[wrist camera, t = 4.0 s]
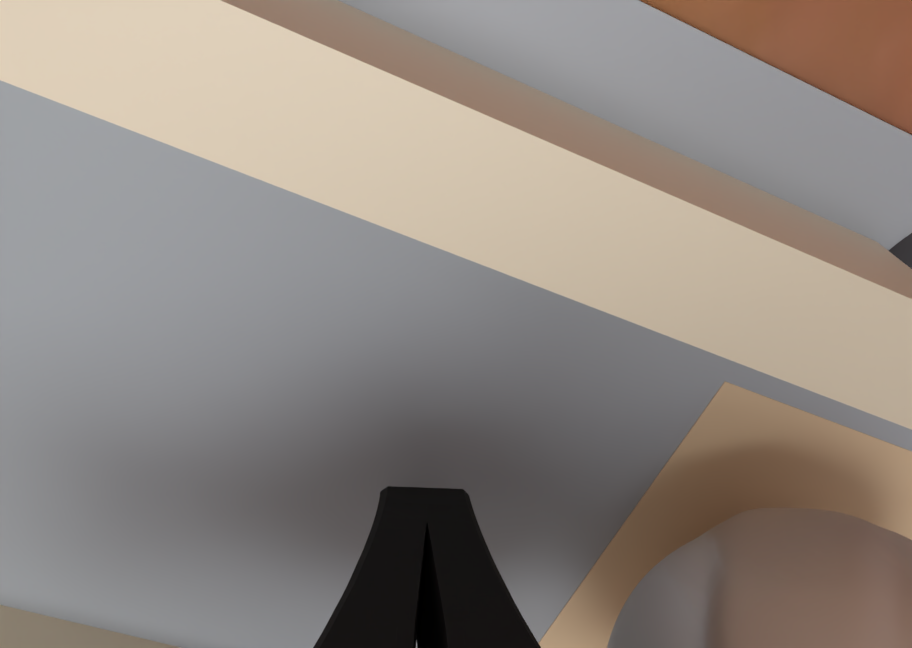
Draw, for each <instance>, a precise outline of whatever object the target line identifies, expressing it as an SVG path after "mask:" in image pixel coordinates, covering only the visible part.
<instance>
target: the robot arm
mask: <svg viewBox="0 0 912 648" xmlns="http://www.w3.org/2000/svg"><path fill="white" fill-rule="evenodd" d="M416 641H417V648H541V647H540V645H539V644H538V642H537V640H536V639H535V637H534V635H533V633H532V632H531V630H530V628H529V627H528V625H527V623H526V622H525V620H524V618H523V616H522V615H521V613H520V611H519V609H518V607H517V606H516V604H515V602H514V600H513V598H512V596H511V594H510V592H509V590H508V588H507V586H506V584H505V582H504V580H503V578H502V576H501V574H500V572H499V570H498V568H497V566H496V564H495V562H494V560H493V558H492V556H491V553H490V551H489V549H488V546H487V544H486V542H485V539H484V537H483V535H482V532H481V530H480V527H479V525H478V522H477V519H476V516H475V513H474V510H473V507H472V504H471V501H470V497H469V494H468V493H467V492H466V491H465V490H464V489H450V488H423V487H396V486H387V487H386V488H385V489H383V490H382V491H380V497H379V503H378V507H377V511H376V515H375V518H374V522H373V525H372V528H371V530H370V533H369V536H368V538H367V541H366V544H365V546H364V549H363V551H362V554H361V556H360V558H359V560H358V562H357V565H356V567H355V569H354V571H353V574H352V576H351V578H350V580H349V582H348V585H347V587H346V589H345V591H344V593H343V595H342V597H341V598H340V600H339V602H338V604H337V606H336V608H335V610H334V611H333V613H332V615H331V617H330V619H329V621H328V623H327V624H326V626H325V628H324V630H323V632H322V634H321V635H320V637H319V639H318V640H317V642H316V644H315V645H314V647H313V648H416Z"/></svg>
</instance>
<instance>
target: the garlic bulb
mask: <svg viewBox="0 0 912 648" xmlns="http://www.w3.org/2000/svg"><path fill="white" fill-rule="evenodd" d="M607 648H912V540H911V539H909V538H907V537H905V536H902V535H900V534H898V533H896V532H893V531H890V530H888V529H885V528H882V527H879V526H877V525H875V524H872V523H870V522H868V521H865V520H863V519H860V518H857V517H855V516H851V515H848V514H844V513H840V512H835V511H829V510H822V509H809V508H758V509H751V510H747V511H744V512H741V513H739V514H737V515H734V516H733V517H731V518H729V519H727V520H726V521H724V522H722V523H720V524H718V525H717V526H715V527H713V528H711V529H710V530H708V531H707V532H705V533H704V534H702V535H701V536H699V537H697V538H696V539H694V540H692V541H690V542H688V543H687V544H685V545H683V546H681V547H680V548H678V549H676V550H675V551H673V552H672V553H670V554H669V555H668V556H666V557H665V558H664V559H662V560H661V561H660V562H659V563H658V564H657V565H655V566H654V567H653V568H652V569H651V570H650V571H649V572H648V573H647V574H646V575H645V576H644V577H643V579H642V580H641V581H640V582H639V583H638V585H637V586H636V587H635V589H634V590H633V591H632V593H631V594H630V596H629V597H628V599H627V601H626V602H625V604H624V606H623V608H622V609H621V611H620V613H619V615H618V618H617V620H616V622H615V625H614V627H613V630H612V632H611V635H610V639H609V642H608V646H607Z"/></svg>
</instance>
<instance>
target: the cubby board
mask: <svg viewBox="0 0 912 648" xmlns="http://www.w3.org/2000/svg"><path fill="white" fill-rule="evenodd" d="M387 486H396V487H423V488H450V489H464V490H465V491H466V492H467V493H468V494H469V497H470V501H471V504H472V507H473V510H474V513H475V516H476V519H477V522H478V525H479V527H480V530H481V532H482V535H483V537H484V539H485V542H486V544H487V546H488V549H489V551H490V553H491V556H492V558H493V560H494V562H495V564H496V566H497V568H498V570H499V572H500V574H501V576H502V578H503V580H504V582H505V584H506V586H507V588H508V590H509V592H510V594H511V596H512V598H513V600H514V602H515V604H516V606H517V607H518V609H519V611H520V613H521V615H522V616H523V618H524V620H525V622H526V623H527V625H528V627H529V628H530V630H531V632H532V633H533V635H534V637H535V639H536V640H537V642H538V644H539V645H540V647H541V648H607V646H608V642H609V639H610V635H611V632H612V630H613V627H614V625H615V622H616V620H617V618H618V615H619V613H620V611H621V609H622V608H623V606H624V604H625V602H626V601H627V599H628V597H629V596H630V594H631V593H632V591H633V590H634V589H635V587H636V586H637V585H638V583H639V582H640V581H641V580H642V579H643V577H644V576H645V575H646V574H647V573H648V572H649V571H650V570H651V569H652V568H653V567H654V566H655V565H657V564H658V563H659V562H660V561H661V560H662V559H664V558H665V557H666V556H668V555H669V554H670V553H672V552H673V551H675V550H676V549H678V548H680V547H681V546H683V545H685V544H687V543H688V542H690V541H692V540H694V539H696V538H697V537H699V536H701V535H702V534H704V533H705V532H707V531H708V530H710V529H711V528H713V527H715V526H717V525H718V524H720V523H722V522H724V521H726V520H727V519H729V518H731V517H733V516H734V515H737V514H739V513H741V512H744V511H747V510H751V509H758V508H809V509H822V510H829V511H835V512H840V513H844V514H848V515H851V516H855V517H857V518H860V519H863V520H865V521H868V522H870V523H872V524H875V525H877V526H879V527H882V528H885V529H888V530H890V531H893V532H896V533H898V534H900V535H902V536H905V537H907V538H909V539H911V540H912V135H911V134H908V133H906V132H904V131H902V130H900V129H898V128H896V127H894V126H892V125H890V124H888V123H886V122H884V121H882V120H880V119H878V118H876V117H874V116H872V115H870V114H868V113H866V112H864V111H862V110H860V109H858V108H856V107H854V106H852V105H850V104H848V103H846V102H844V101H842V100H840V99H838V98H836V97H834V96H832V95H830V94H828V93H826V92H823V91H821V90H819V89H817V88H815V87H813V86H811V85H809V84H807V83H805V82H803V81H801V80H799V79H797V78H795V77H793V76H791V75H789V74H787V73H785V72H783V71H781V70H779V69H777V68H775V67H773V66H771V65H769V64H767V63H765V62H763V61H761V60H759V59H757V58H755V57H753V56H751V55H749V54H747V53H745V52H743V51H741V50H738V49H736V48H734V47H732V46H730V45H728V44H726V43H724V42H722V41H720V40H718V39H716V38H714V37H712V36H710V35H708V34H706V33H704V32H702V31H700V30H698V29H696V28H694V27H692V26H690V25H688V24H686V23H684V22H682V21H680V20H678V19H676V18H674V17H672V16H670V15H668V14H666V13H664V12H662V11H660V10H658V9H656V8H653V7H651V6H649V5H647V4H645V3H643V2H641V1H639V0H0V648H313V647H314V645H315V644H316V642H317V640H318V639H319V637H320V635H321V634H322V632H323V630H324V628H325V626H326V624H327V623H328V621H329V619H330V617H331V615H332V613H333V611H334V610H335V608H336V606H337V604H338V602H339V600H340V598H341V597H342V595H343V593H344V591H345V589H346V587H347V585H348V582H349V580H350V578H351V576H352V574H353V571H354V569H355V567H356V565H357V562H358V560H359V558H360V556H361V554H362V551H363V549H364V546H365V544H366V541H367V538H368V536H369V533H370V530H371V528H372V525H373V522H374V518H375V515H376V511H377V507H378V503H379V497H380V491H382V490H383V489H385V488H386V487H387ZM416 648H417V641H416Z"/></svg>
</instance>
